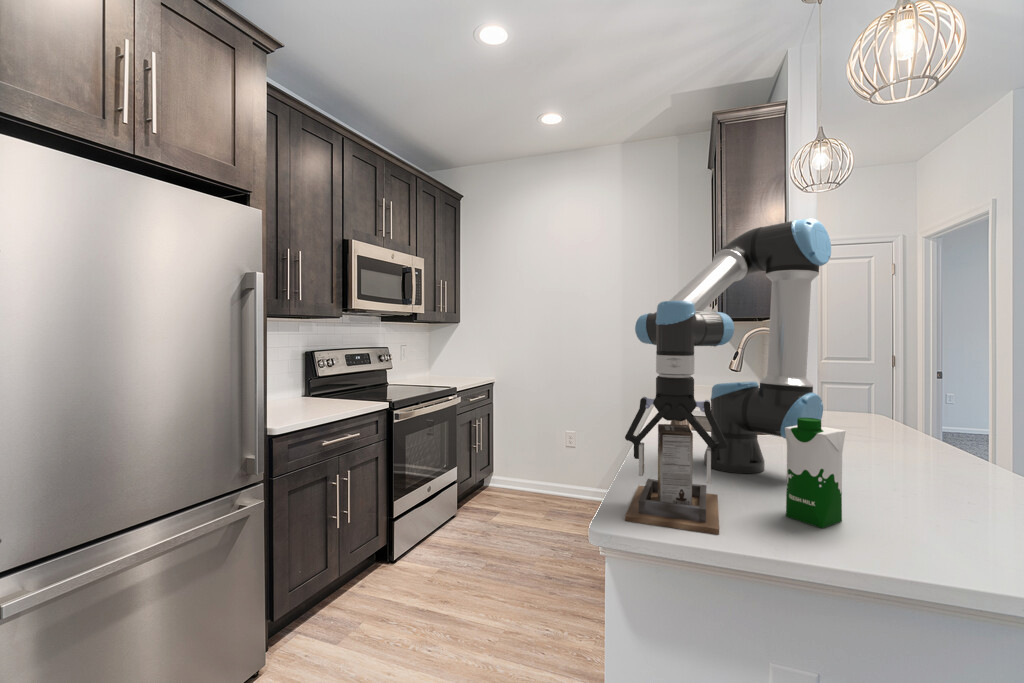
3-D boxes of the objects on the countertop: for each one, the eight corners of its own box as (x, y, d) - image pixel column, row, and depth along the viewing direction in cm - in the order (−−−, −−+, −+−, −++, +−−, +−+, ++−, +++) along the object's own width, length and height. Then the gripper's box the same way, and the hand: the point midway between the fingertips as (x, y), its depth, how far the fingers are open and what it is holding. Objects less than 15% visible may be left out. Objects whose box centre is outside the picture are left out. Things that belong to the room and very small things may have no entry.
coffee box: (656, 495, 106) (657, 423, 106) (687, 498, 105) (688, 424, 104) (659, 511, 97) (660, 431, 97) (693, 513, 96) (694, 433, 95)
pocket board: (717, 499, 107) (717, 483, 107) (719, 534, 88) (719, 515, 88) (638, 489, 113) (638, 474, 113) (625, 520, 95) (625, 503, 95)
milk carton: (778, 515, 97) (779, 416, 97) (804, 507, 102) (805, 413, 101) (824, 531, 90) (826, 424, 89) (850, 522, 94) (851, 419, 94)
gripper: (611, 375, 102) (611, 476, 102) (741, 379, 92) (740, 490, 93) (617, 372, 108) (617, 466, 109) (739, 376, 99) (738, 479, 100)
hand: (674, 477), depth 101 cm, fingers open, 13 cm apart
